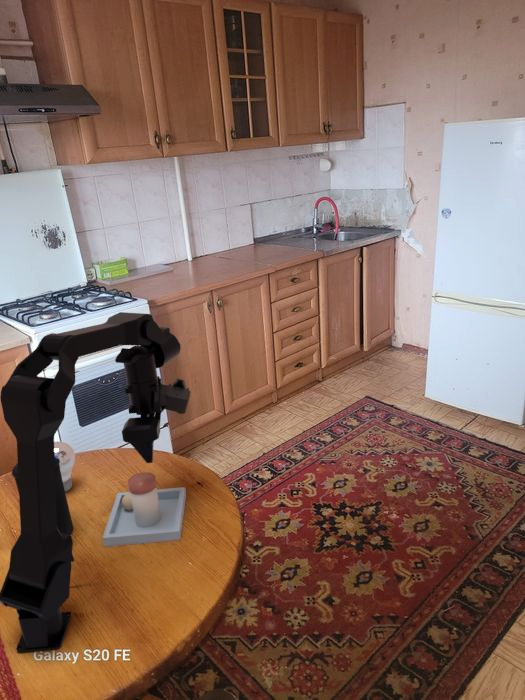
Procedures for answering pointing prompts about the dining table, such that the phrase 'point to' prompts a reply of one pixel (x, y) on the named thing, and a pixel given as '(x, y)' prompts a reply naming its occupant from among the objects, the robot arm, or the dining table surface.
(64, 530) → the aerosol can
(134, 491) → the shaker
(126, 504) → the cork ball
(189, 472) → the dining table surface
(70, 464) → the light bulb
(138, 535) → the dish
